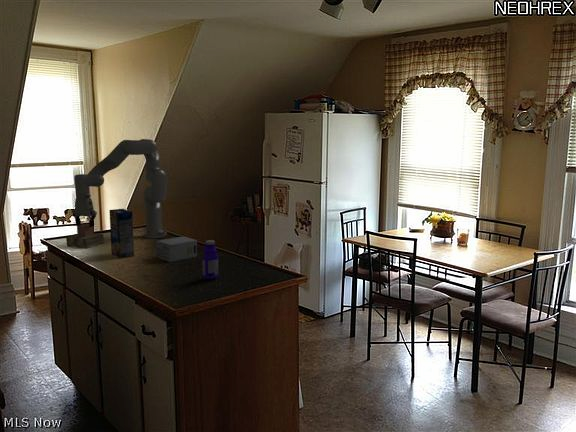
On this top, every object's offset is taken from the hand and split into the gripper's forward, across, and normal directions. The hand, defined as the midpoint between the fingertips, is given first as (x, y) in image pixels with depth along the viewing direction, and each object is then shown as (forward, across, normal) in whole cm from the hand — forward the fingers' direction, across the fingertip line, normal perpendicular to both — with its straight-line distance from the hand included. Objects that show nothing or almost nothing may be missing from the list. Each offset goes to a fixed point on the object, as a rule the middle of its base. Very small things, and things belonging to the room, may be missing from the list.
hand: (85, 225), depth 298 cm
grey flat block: (+12, 0, 0) cm, 12 cm away
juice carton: (+12, -35, +12) cm, 38 cm away
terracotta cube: (+6, 0, 0) cm, 6 cm away
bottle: (+12, -99, +30) cm, 104 cm away
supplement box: (+12, -63, +3) cm, 64 cm away
